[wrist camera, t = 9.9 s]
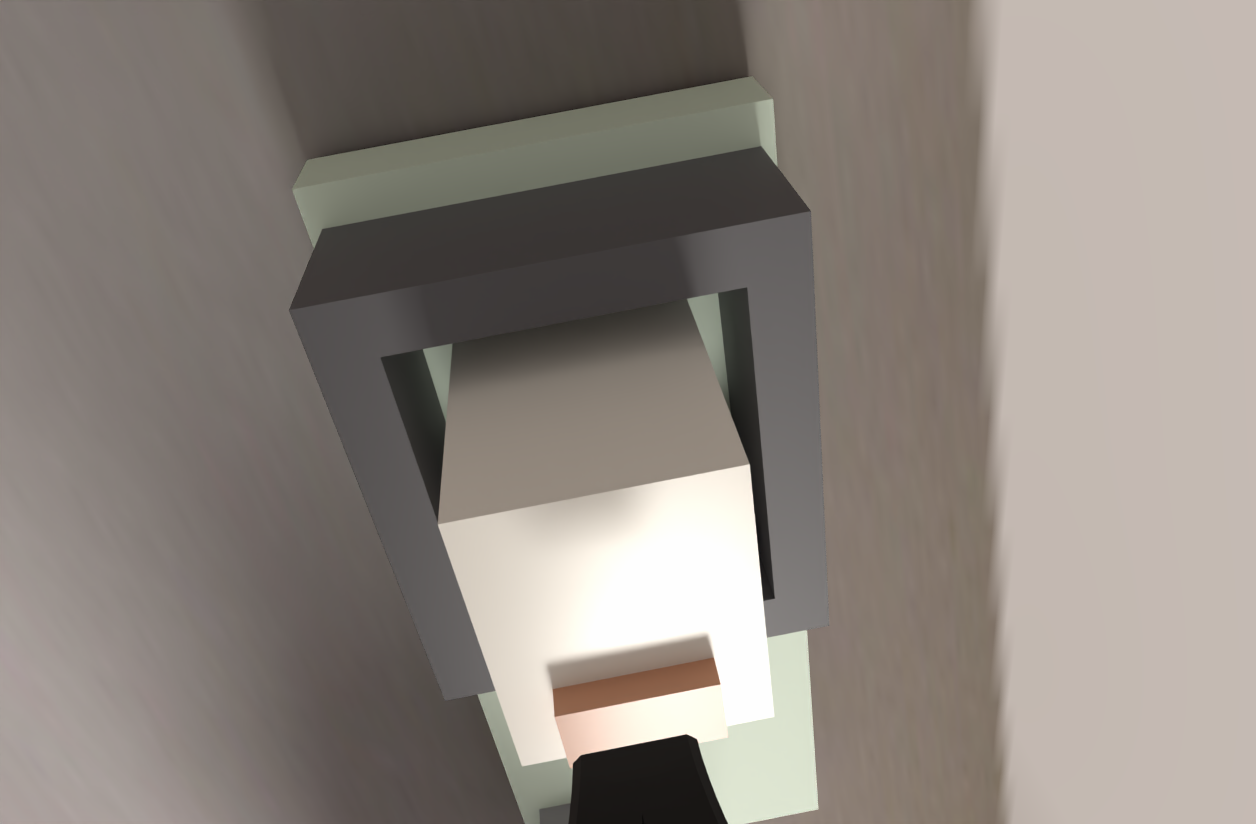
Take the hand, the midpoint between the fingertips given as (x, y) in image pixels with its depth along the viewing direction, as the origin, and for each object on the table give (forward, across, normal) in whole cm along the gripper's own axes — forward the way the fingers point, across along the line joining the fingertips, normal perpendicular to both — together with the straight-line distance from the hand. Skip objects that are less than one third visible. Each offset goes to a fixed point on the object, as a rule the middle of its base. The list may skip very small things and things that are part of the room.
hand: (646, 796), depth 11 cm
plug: (+9, 0, 0) cm, 9 cm away
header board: (+10, 0, +5) cm, 11 cm away
